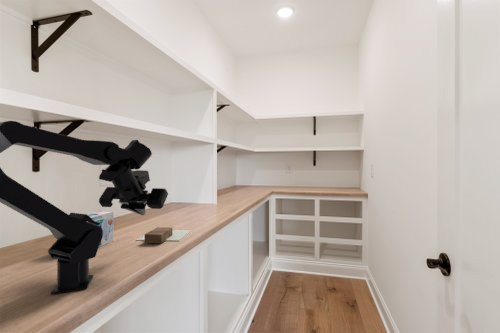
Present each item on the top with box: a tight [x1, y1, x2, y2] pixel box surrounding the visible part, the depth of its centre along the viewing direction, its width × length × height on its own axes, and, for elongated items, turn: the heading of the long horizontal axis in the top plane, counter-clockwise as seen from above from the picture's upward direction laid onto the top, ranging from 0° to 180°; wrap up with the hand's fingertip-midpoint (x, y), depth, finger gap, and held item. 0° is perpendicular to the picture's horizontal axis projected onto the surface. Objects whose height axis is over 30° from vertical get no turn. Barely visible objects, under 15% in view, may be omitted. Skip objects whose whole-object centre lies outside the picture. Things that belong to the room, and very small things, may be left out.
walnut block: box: [144, 226, 173, 244], centre depth 89 cm, size 3×6×10 cm
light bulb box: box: [86, 210, 115, 248], centre depth 84 cm, size 11×7×11 cm, turn 168°
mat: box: [135, 229, 192, 242], centre depth 95 cm, size 14×16×1 cm
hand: (143, 213), depth 78 cm, fingers closed
